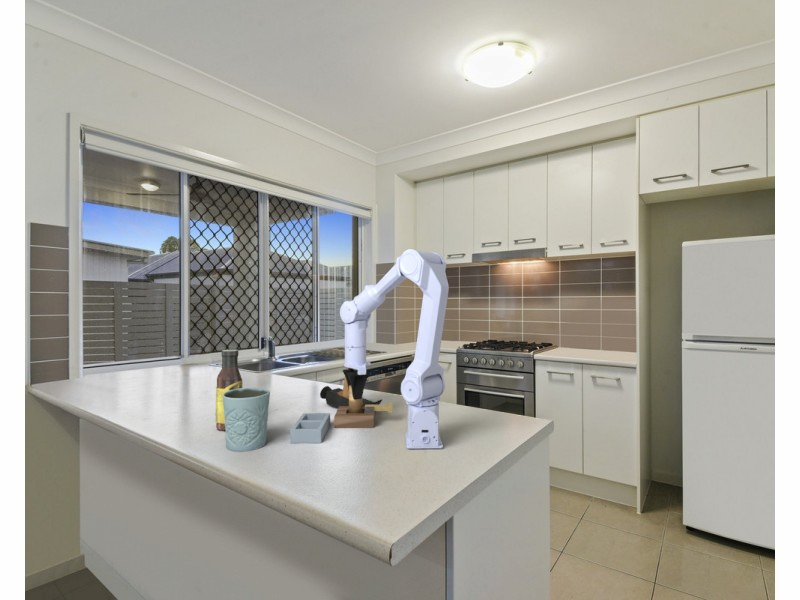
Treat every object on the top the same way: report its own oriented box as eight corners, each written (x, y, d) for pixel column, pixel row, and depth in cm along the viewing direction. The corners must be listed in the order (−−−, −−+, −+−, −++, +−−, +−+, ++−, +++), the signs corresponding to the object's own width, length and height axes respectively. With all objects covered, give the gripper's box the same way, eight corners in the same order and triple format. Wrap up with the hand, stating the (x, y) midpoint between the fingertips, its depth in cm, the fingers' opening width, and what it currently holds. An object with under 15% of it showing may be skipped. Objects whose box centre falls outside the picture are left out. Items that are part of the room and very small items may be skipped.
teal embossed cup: (254, 434, 101) (254, 385, 101) (279, 444, 95) (279, 391, 94) (213, 446, 93) (213, 392, 93) (237, 457, 87) (237, 399, 87)
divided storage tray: (320, 443, 95) (320, 429, 95) (290, 443, 95) (290, 430, 95) (330, 424, 109) (330, 413, 109) (303, 424, 109) (303, 413, 109)
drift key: (392, 412, 110) (392, 405, 110) (364, 412, 110) (364, 406, 110) (392, 409, 113) (392, 402, 113) (365, 409, 113) (365, 403, 113)
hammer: (379, 418, 122) (394, 318, 119) (368, 422, 118) (384, 319, 115) (330, 397, 133) (342, 305, 130) (318, 400, 129) (331, 305, 126)
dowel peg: (362, 413, 109) (361, 387, 109) (348, 413, 109) (348, 387, 109) (362, 410, 113) (362, 384, 113) (349, 410, 113) (349, 384, 113)
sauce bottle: (232, 432, 103) (232, 352, 103) (210, 430, 104) (210, 351, 104) (247, 424, 109) (247, 348, 109) (226, 423, 110) (226, 348, 110)
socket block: (373, 427, 106) (373, 411, 106) (334, 428, 106) (334, 411, 106) (375, 416, 116) (375, 401, 116) (339, 416, 116) (339, 401, 116)
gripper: (377, 348, 106) (377, 402, 106) (363, 343, 119) (363, 390, 119) (350, 350, 103) (350, 404, 103) (338, 344, 117) (339, 392, 117)
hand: (355, 397), depth 111 cm, fingers closed on dowel peg, 4 cm apart
